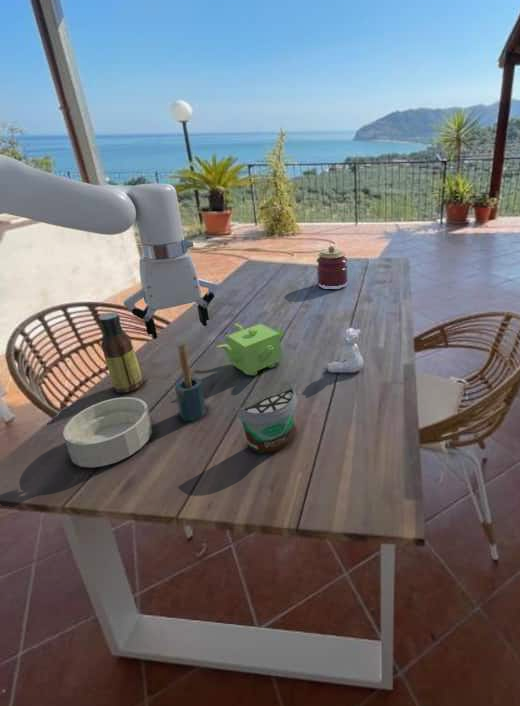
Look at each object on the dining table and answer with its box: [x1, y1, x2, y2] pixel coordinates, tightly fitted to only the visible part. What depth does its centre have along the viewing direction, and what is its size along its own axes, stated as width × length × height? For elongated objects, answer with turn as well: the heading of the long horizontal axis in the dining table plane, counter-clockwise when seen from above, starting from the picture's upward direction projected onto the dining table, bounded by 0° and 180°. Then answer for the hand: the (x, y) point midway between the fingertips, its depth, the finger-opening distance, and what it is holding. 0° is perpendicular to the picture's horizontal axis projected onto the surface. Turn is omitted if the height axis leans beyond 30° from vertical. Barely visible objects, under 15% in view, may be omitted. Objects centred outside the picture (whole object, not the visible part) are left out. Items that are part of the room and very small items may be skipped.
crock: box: [174, 376, 207, 423], centre depth 86 cm, size 5×5×8 cm
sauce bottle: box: [98, 312, 143, 394], centre depth 94 cm, size 7×6×20 cm
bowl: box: [62, 396, 153, 469], centre depth 78 cm, size 14×14×6 cm
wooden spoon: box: [177, 342, 192, 388], centre depth 85 cm, size 1×3×17 cm, turn 36°
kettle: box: [216, 322, 286, 377], centre depth 105 cm, size 15×14×11 cm
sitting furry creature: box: [327, 327, 365, 374], centre depth 104 cm, size 10×9×12 cm
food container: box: [236, 384, 298, 454], centre depth 77 cm, size 12×6×10 cm, turn 129°
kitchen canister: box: [316, 245, 348, 286], centre depth 166 cm, size 13×13×18 cm
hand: (179, 329), depth 81 cm, fingers open, 9 cm apart
